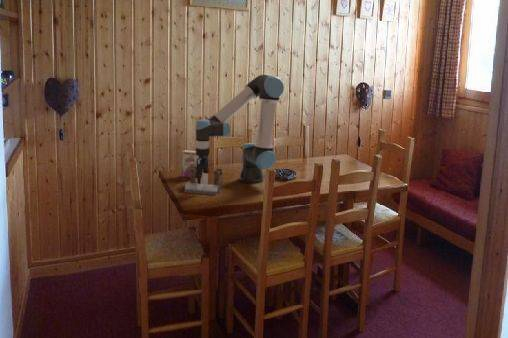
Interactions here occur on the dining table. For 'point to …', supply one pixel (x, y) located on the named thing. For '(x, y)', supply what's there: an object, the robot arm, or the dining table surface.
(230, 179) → the dining table surface
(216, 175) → the post
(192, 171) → the post
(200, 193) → the mat
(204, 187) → the rail
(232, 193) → the dining table surface
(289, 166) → the dining table surface
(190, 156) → the candy bar box
